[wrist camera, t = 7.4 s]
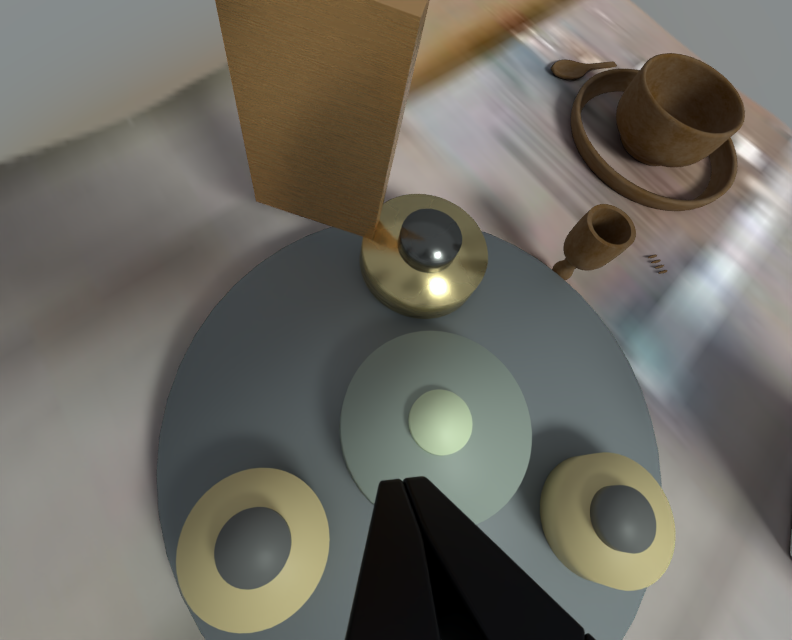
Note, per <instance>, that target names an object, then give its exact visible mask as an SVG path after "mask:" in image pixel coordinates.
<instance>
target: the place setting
mask: <svg viewBox="0 0 792 640" xmlns="http://www.w3.org/2000/svg"><path fill="white" fill-rule="evenodd" d="M616 66H617V65H616V64H615V62H604V63H593V64H584V63H579V62H575V61H572V60H559V61H557V62H556V63H554V65H553V66H552V67H551V70H552V72H553V73H554V74H555V75H556V76H557V77H559V78H563V79H569V80H573V79H578V78H581V77H582V76H584V75H585V73H586V72H587V71H589V70H593V69H601V68H611V67H616ZM614 91H622V92H624V93H623V95H622V97H621V99H620V101H619V103H618V106H617V112H616V121H617V127H618V130H619V132H620V138H621V141H622V144H623V146H624V148H625V149H626V150H627V152H628V153H629V154H630V155H631V156H633V157H634V158H635V159H637V160H638V161H640V162H642V163H644V164H647V165H651V166H666V167H683V166H688V165H691V164H694V163H696V162H699V161H700V160H702V159H704V158H705V157H707V156H708V155H709V158H710V162H711V178H710V182H709V184H708V186H707V188H706V190H705V191H704V192H703V193H702V194H701V195H700V196H699V197H697V198H696V199H694V200H678V199H672V198H667V197H663V196H660V195H657V194H654V193H652V192H649V191H647V190H645V189H643V188H641V187H639V186H637V185H635V184H633V183H632V182H630V181H628V180H627V179H625V178H624V177H623V176H621V175H620V174H619V173H617V172H616V171H615V170H614V169H613V168H612V167H611V166H609V165H608V164H607V163H606V162H605V160H604V159H603V158H602V157H601V156H600V155H599V154H598V152H597V151H596V150H595V148H594V147H593V145H592V144H591V142H590V141H589V139H588V137H587V135H586V132H585V130H584V127H583V124H582V121H581V115H580V113H581V111H582V109H583V107H584V106H585V104H586V103H587V102H588V101H589V100H591V99H592V98H594V97H595V96H598V95H600V94H603V93H607V92H614ZM744 118H745V110H744V105H743V102H742V100H741V98H740V96H739V94H738V92H737V91H736V89H735V88H734V87H733V85H732V84H731V83H730V82H729V81H728V80H727V79H726V78H725V77H724V76H723V75H722V74H720V73H719V72H718V71H717V70H715V69H714V68H712V67H711V66H709V65H707V64H706V63H704V62H702V61H700V60H697V59H695V58H692V57H689V56H686V55H682V54H675V53H666V54H660V55H656V56H654V57H652V58H650V59H649V60H648V61H647V62H646V63H645V64H644V66H643V67H642V68H641V70H634V69H612V70H607V71H604V72H601V73H598V74H596V75H594V76H593V77H591V78H590V79H589V80H588V81H587V82H586V83H584V85H583V86H582V88H581V89H580V91H579V92H578V94H577V96H576V99H575V101H574V103H573V107H572V112H571V129H572V135H573V138H574V141H575V144H576V146H577V149H578V151H579V153H580V154H581V156H582V158H583V159H584V161H585V162H586V164H587V165H588V166H589V168H590V169H591V170H592V171H593V172H594V173H595V174H596V175H597V176H598V177H599V178H600V179H601V180H602V181H603V182H604V183H605V184H607V185H608V186H609V187H611V188H612V189H613V190H615V191H616V192H618V193H619V194H621V195H623V196H624V197H626V198H628V199H630V200H632V201H634V202H636V203H639V204H642V205H644V206H647V207H651V208H655V209H660V210H667V211H684V210H691V209H695V208H699V207H702V206H705V205H707V204H709V203H711V202H713V201H715V200H716V199H718V198H719V197H720V196H722V195H723V194H725V193H726V192H727V191H728V190H729V188H730V187H731V185H732V184H733V182H734V180H735V177H736V173H737V156H736V151H735V148H734V145H733V142H732V140H731V138H730V137H731V136H732V135H733V134H735V133H736V132H737V131H738V130H739V129H740V128H741V126H742V125H743V122H744ZM635 237H636V230H635V226H634V224H633V222H632V220H631V219H630V217H629V216H628V215H627V214H626V213H625V212H623V211H622V210H621V209H619V208H617V207H615V206H612V205H608V204H600V205H597V206H594V207H593V208H592V209H591V210H589V211H588V212H587V213H586V214H585V215H584V216H583V217H582V218H581V219H580V221H579V222H578V223H577V224H576V225H575V226H574V227H573V229H572V230H571V231H570V232H569V234H568V235H567V237H566V239H565V242H564V255H565V257H566V258H565V260H563V261H559V262H557V263H556V264H555V265H554V266H553V269H552V270H553V271H554V272H555V273H557V274H558V275H559V276H560V277H561V278H563V279H564V280H567V279H569V278H570V277H571V276H572V274H573V271H574V269H576V268H578V269H580V270H594V269H598V268H600V267H602V266H604V265H606V264H607V263H609V262H610V261H611V260H613V259H614V258H616V257H617V256H618V255H620V254H621V253H622V252H623V251H625V250H626V249H627V248H628V247H629V246H630V245H631V244H632V243H633V242H634V240H635ZM656 256H657V255H652V256H649V257H648V258H654V257H656ZM658 262H660V260H656V261H653V262H651V263H658ZM663 266H664V265H660V266H657V267H655V268H661V267H663ZM665 272H667V270H664V271H661V272H659V274H661V273H665Z"/></svg>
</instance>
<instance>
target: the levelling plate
mask: <svg viewBox="0 0 792 640" xmlns="http://www.w3.org/2000/svg"><path fill="white" fill-rule="evenodd" d="M481 232H482V231H481ZM482 234H483V236H484V238H485V241H486V245H487V250H488V264H487V269H486V272H485V275H484V277H483V279H482V281H481V282H480V284H479V285H478V287H477V288H476V289H475V290H474V292H473V293H472V294H471V296H470V297H469V298H468V300H467V301H466V302H465V303H464V304H463V305H462V306H461V307H459V308H458V309H457V310H455V311H454V312H452V313H450V314H448V315H445V316H442V317H438V318H432V319H418V318H411V317H407V316H404V315H401V314H399V313H396V312H394V311H392V310H391V309H389V308H387V307H386V306H384V305H383V304H382V303H381V302H380V301H378V300H377V299H376V298H375V297H374V295H373V294H372V293H371V292H370V290H369V289H368V287H367V286H366V284H365V282H364V280H363V277H362V274H361V269H360V250H361V245H362V239H363V237H362V236H359V235H356V234H353V233H350V232H347V231H344V230H341V229H338V228H335V227H330V228H328V229H325V230H322V231H319V232H316V233H314V234H311V235H308V236H306V237H304V238H302V239H300V240H298V241H296V242H294V243H292V244H290V245H288V246H286V247H284V248H282V249H281V250H279V251H278V252H276V253H275V254H273V255H272V256H270V257H269V258H267V259H266V260H264V261H263V262H261V263H260V264H258V265H257V266H256V267H255V268H254V269H253V270H251V271H250V272H249V273H248V274H247V275H246V276H244V277H243V278H242V279H241V280H240V281H239V282H237V283H236V284H235V285H234V286H233V287H232V289H231V290H230V291H229V292H228V293H227V294H226V295H225V296H224V297H223V299H222V300H221V301H220V302H219V303H218V304H217V305H216V306H215V307H214V309H213V310H212V312H211V313H210V315H209V316H208V317H207V319H206V320H205V322H204V323H203V325H202V326H201V328H200V329H199V330H198V332H197V333H196V335H195V337H194V339H193V341H192V342H191V344H190V346H189V348H188V350H187V352H186V354H185V356H184V358H183V360H182V362H181V364H180V366H179V369H178V371H177V374H176V377H175V380H174V382H173V385H172V388H171V391H170V394H169V396H168V399H167V404H166V408H165V413H164V418H163V422H162V427H161V431H160V436H159V449H158V462H157V492H158V509H159V518H160V523H161V528H162V533H163V538H164V543H165V548H166V553H167V557H168V560H169V562H170V565H171V568H172V571H173V574H174V577H175V579H176V582H177V585H178V588H179V591H180V593H181V596H182V598H183V600H184V602H185V603H186V605H187V607H188V609H189V611H190V613H191V615H192V617H193V619H194V620H195V622H196V624H197V626H198V628H199V630H200V632H201V634H202V635H203V636H204V638H205V639H206V640H345V635H346V631H347V626H348V622H349V617H350V613H351V608H352V603H353V599H354V594H355V590H356V585H357V581H358V576H359V571H360V567H361V562H362V558H363V553H364V549H365V544H366V539H367V535H368V530H369V526H370V521H371V517H372V512H373V507H374V503H375V498H376V494H377V489H378V485H379V482H380V481H382V480H390V479H401V480H402V481H403V480H404V479H405V478H408V477H417V476H425V477H427V478H428V479H429V480H430V481H431V482H432V483H433V484H434V485H435V486H436V487H437V488H438V489H439V490H440V491H441V492H442V493H444V494H445V495H446V496H447V497H448V498H449V499H450V500H451V501H452V502H453V503H454V504H455V505H456V506H457V507H458V508H459V509H460V510H461V511H462V512H463V513H464V514H465V515H466V516H467V517H469V518H470V519H471V520H472V521H473V522H474V523H475V524H476V525H477V526H478V527H479V528H480V529H481V530H482V531H483V532H484V533H485V534H486V535H487V536H488V537H489V538H490V539H491V540H492V541H493V542H495V543H496V544H497V545H498V546H499V547H500V548H501V549H502V550H503V551H504V552H505V553H506V554H507V555H508V556H509V557H510V558H511V559H512V560H513V561H514V562H515V563H516V564H517V565H518V566H520V567H521V568H522V569H523V570H524V571H525V572H526V573H527V574H528V575H529V576H530V577H531V578H532V579H533V580H534V581H535V582H536V583H537V584H538V585H539V586H540V587H541V588H542V589H543V590H545V591H546V592H547V593H548V594H549V595H550V596H551V597H552V598H553V599H554V600H555V601H556V602H557V603H558V604H559V605H560V606H561V607H562V608H563V609H564V610H565V611H566V612H567V613H568V614H570V615H571V616H572V617H573V618H574V619H575V620H576V621H577V622H578V623H579V624H580V625H581V626H582V627H583V628H584V630H585V634H586V633H589V634H591V635H592V636H593V637H594V638H595V639H596V640H622V639H623V637H624V636H625V634H626V632H627V630H628V629H629V627H630V625H631V623H632V622H633V620H634V618H635V616H636V613H637V611H638V608H639V606H640V603H641V601H642V598H643V596H644V593H645V591H646V588H647V587H648V586H650V585H652V584H653V583H655V582H656V581H657V580H658V579H659V578H660V577H661V576H662V575H663V574H664V572H665V571H666V569H667V568H668V566H669V564H670V561H671V559H672V556H673V552H674V547H675V524H674V519H673V514H672V511H671V508H670V505H669V502H668V500H667V498H666V496H665V494H664V492H663V490H662V488H661V475H660V465H659V455H658V448H657V444H656V439H655V434H654V430H653V425H652V420H651V417H650V414H649V411H648V408H647V405H646V402H645V399H644V396H643V393H642V390H641V388H640V386H639V384H638V381H637V379H636V377H635V375H634V372H633V370H632V368H631V366H630V364H629V362H628V360H627V358H626V357H625V355H624V353H623V351H622V350H621V348H620V346H619V345H618V343H617V341H616V339H615V338H614V336H613V335H612V334H611V332H610V331H609V329H608V328H607V327H606V325H605V324H604V323H603V321H602V320H601V318H600V317H599V316H598V314H597V313H596V312H595V311H594V310H593V309H592V308H591V306H590V305H589V304H588V303H587V302H586V301H585V300H584V299H583V297H582V296H581V295H580V294H579V293H578V292H577V291H576V290H574V289H573V288H572V287H571V286H570V285H569V284H568V283H567V282H566V281H565V280H564V279H563V278H561V277H560V276H559V275H558V274H557V273H555V272H554V271H553V270H551V269H550V268H549V267H547V266H546V265H545V264H543V263H542V262H541V261H539V260H538V259H536V258H535V257H533V256H531V255H530V254H528V253H526V252H525V251H523V250H521V249H520V248H518V247H516V246H515V245H512V244H510V243H508V242H506V241H504V240H502V239H499V238H497V237H495V236H493V235H491V234H488V233H485V232H482Z"/></svg>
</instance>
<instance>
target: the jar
mask: <svg viewBox="0 0 792 640" xmlns="http://www.w3.org/2000/svg"><path fill="white" fill-rule="evenodd" d="M790 555H791V557H792V531H791V545H790Z"/></svg>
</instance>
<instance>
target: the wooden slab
mask: <svg viewBox="0 0 792 640" xmlns="http://www.w3.org/2000/svg"><path fill="white" fill-rule="evenodd" d="M215 1H216V7H217V12H218V16H219V21H220V27H221V31H222V36H223V41H224V45H225V51H226V56H227V61H228V66H229V71H230V75H231V80H232V85H233V90H234V95H235V100H236V105H237V110H238V115H239V120H240V124H241V129H242V134H243V139H244V144H245V149H246V154H247V159H248V164H249V168H250V173H251V178H252V183H253V188H254V193H255V198H256V201H257V202H260V203H263V204H266V205H269V206H272V207H275V208H278V209H281V210H284V211H287V212H290V213H293V214H296V215H299V216H302V217H305V218H308V219H311V220H314V221H317V222H320V223H323V224H326V225H329V226H332V227H335V228H338V229H341V230H344V231H347V232H350V233H353V234H356V235H359V236H362V237H363V239H362V245H361V250H360V269H361V274H362V277H363V280H364V282H365V284H366V286H367V287H368V289H369V290H370V292H371V293H372V294H373V295H374V297H375V298H376V299H377V300H378V301H380V302H381V303H382V304H383V305H384V306H386V307H387V308H389V309H391V310H392V311H394V312H396V313H399V314H401V315H404V316H407V317H411V318H418V319H432V318H438V317H442V316H445V315H448V314H450V313H452V312H454V311H455V310H457V309H458V308H459V307H461V306H462V305H463V304H464V303H465V302H466V301H467V300H468V298H469V297H470V296H471V294H472V293H473V292H474V290H475V289H476V288H477V287H478V285H479V284H480V282H481V281H482V279H483V277H484V275H485V272H486V269H487V264H488V250H487V245H486V241H485V238H484V236H483V234H482V232H481V230H480V228H479V227H478V225H477V224H476V222H475V221H474V220H473V219H472V218H471V217H470V216H469V215H468V214H467V213H466V212H465V211H464V210H463V209H461V208H460V207H458V206H457V205H455V204H453V203H451V202H449V201H447V200H445V199H442V198H439V197H436V196H432V195H426V194H409V195H403V196H399V197H396V198H393V199H391V200H389V201H387V202H385V203H384V204H383V202H384V197H385V193H386V189H387V184H388V180H389V175H390V171H391V167H392V162H393V158H394V154H395V149H396V145H397V140H398V136H399V132H400V127H401V123H402V119H403V114H404V110H405V105H406V101H407V97H408V92H409V88H410V84H411V79H412V75H413V71H414V66H415V62H416V57H417V53H418V49H419V44H420V40H421V36H422V31H423V27H424V22H425V18H426V14H427V9H428V5H429V1H430V0H215Z"/></svg>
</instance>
